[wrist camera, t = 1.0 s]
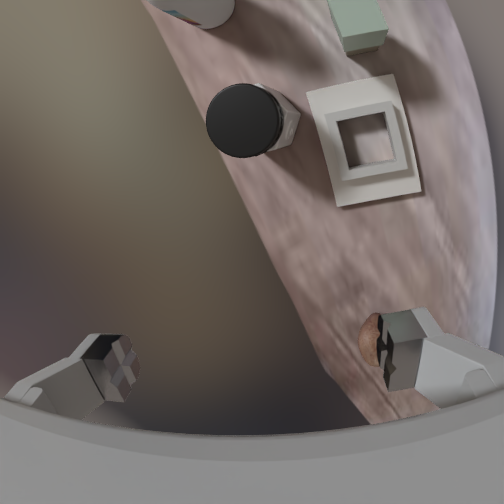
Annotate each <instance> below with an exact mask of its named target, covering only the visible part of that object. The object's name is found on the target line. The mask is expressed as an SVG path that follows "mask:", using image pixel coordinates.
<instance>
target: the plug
mask: <svg viewBox="0 0 504 504" xmlns="http://www.w3.org/2000/svg"><path fill="white" fill-rule="evenodd" d="M327 2H328V6H329V10H330V14H331V18H332V21H333V23H334V26H335V28H336V31H337V33H338V36H339V38H340V41H341V44H342V46H343V49H344V52H346V55H347V56H351V55H356V54H361V53H366V52H371V51H377V50H378V48H379V46H380V45H383V44H384V41H385V38H386V35H387V32H388V26H387V24H386V21H385V19H384V16H383V14H382V12H381V9H380V7H379V5H378V3H377V1H376V0H327Z"/></svg>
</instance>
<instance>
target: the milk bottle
mask: <svg viewBox="0 0 504 504" xmlns="http://www.w3.org/2000/svg"><path fill="white" fill-rule="evenodd" d="M147 1H148V2H149V3H150V4H152V5H153V6H155V7H156V8H158V9H160V10H162V11H164V12H166V13H168V14H170V15H173V16H175V17H177V18H179V19H181V20H183V21H185V22H187V23H189V24H191V25H193V26H196V27H198V28H202V29H210V28H214V27H217V26H219V25H222V24H223V23H224V22H226V21H227V20H228V19H229V17H230V16H231V15H232V13H233V10H234V6H235V1H234V0H147Z"/></svg>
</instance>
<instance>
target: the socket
mask: <svg viewBox="0 0 504 504" xmlns="http://www.w3.org/2000/svg"><path fill="white" fill-rule="evenodd" d="M306 94H307V98H308V101H309V104H310V107H311V111H312V114H313V117H314V121H315V124H316V128H317V131H318V134H319V138H320V142H321V145H322V149H323V153H324V156H325V160H326V164H327V168H328V172H329V175H330V179H331V183H332V188H333V192H334V196H335V200H336V204H337V207H340V206H345V205H350V204H355V203H361V202H366V201H371V200H377V199H382V198H388V197H393V196H399V195H404V194H410V193H416V192H421V186H420V180H419V174H418V169H417V164H416V159H415V154H414V149H413V145H412V140H411V136H410V132H409V128H408V124H407V120H406V116H405V112H404V108H403V105H402V101H401V98H400V94H399V91H398V87H397V84H396V81H395V78H394V75H393V74H388V75H383V76H377V77H372V78H366V79H361V80H356V81H352V82H347V83H342V84H338V85H334V86H329V87H325V88H321V89H317V90H313V91H309V92H306ZM382 112H383V115H384V119H385V123H386V127H387V131H388V135H389V139H390V143H391V147H392V151H393V156H394V159H390V160H385V161H379V162H374V163H369V164H364V165H359V166H354V167H349V165H348V161H347V157H346V153H345V149H344V145H343V141H342V138H341V134H340V130H339V127H338V123H337V122H338V121H343V120H347V119H352V118H357V117H362V116H367V115H372V114H377V113H382Z"/></svg>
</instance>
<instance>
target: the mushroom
mask: <svg viewBox="0 0 504 504" xmlns="http://www.w3.org/2000/svg"><path fill="white" fill-rule="evenodd" d="M379 315H381V314H380V313H373V314H372V315H370V316H369V317H368V319H367V320H366V321H365V322H364V324H363V325H362V327H361V329H360V331H359V336H358V346H359V349H360V352H361V355H362V356H363V358H364V360H365V361H366V362H367V363H368V364H369V365H371V366H374V367H379V363H378V359H377V350H376V344H377V338H378V337H379V335H380V333H379V330H378V328H377V323H378V316H379Z"/></svg>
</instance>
